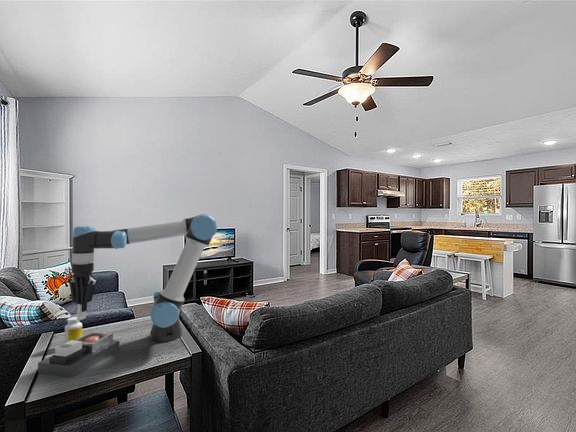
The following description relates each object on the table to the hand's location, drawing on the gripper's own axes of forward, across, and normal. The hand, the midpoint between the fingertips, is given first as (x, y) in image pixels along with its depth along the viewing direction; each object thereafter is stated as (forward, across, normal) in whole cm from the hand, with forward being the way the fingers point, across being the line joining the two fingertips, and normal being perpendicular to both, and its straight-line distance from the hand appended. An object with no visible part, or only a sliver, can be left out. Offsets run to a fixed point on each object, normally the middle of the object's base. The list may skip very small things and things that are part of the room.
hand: (81, 318), depth 122 cm
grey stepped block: (+17, -1, 0) cm, 17 cm away
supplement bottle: (+18, +15, -10) cm, 25 cm away
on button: (+11, -1, +6) cm, 13 cm away
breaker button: (+13, -1, -5) cm, 14 cm away
